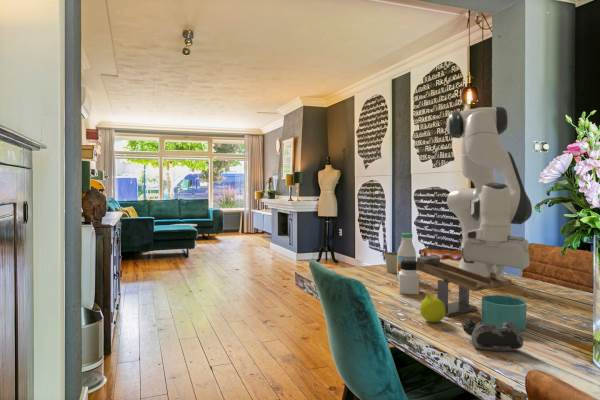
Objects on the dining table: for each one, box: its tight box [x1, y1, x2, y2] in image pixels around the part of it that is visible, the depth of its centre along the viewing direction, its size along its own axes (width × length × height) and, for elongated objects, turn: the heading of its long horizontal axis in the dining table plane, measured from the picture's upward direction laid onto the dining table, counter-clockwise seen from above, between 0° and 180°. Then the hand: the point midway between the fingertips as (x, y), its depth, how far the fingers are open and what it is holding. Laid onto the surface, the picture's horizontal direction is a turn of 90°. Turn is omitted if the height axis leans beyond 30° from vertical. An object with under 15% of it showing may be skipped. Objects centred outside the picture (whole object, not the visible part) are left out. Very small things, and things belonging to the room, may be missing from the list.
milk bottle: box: [396, 232, 417, 282], centre depth 172 cm, size 8×8×20 cm
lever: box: [416, 255, 512, 292], centre depth 133 cm, size 19×22×5 cm
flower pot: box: [383, 251, 398, 274], centre depth 190 cm, size 9×9×9 cm
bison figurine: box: [461, 318, 524, 352], centre depth 100 cm, size 12×7×10 cm
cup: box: [480, 294, 527, 332], centre depth 116 cm, size 11×11×7 cm
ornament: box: [419, 290, 446, 323], centre depth 118 cm, size 7×7×10 cm
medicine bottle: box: [398, 260, 421, 295], centre depth 153 cm, size 7×7×12 cm
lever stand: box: [436, 279, 478, 318], centre depth 129 cm, size 14×7×10 cm, turn 123°
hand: (494, 278), depth 128 cm, fingers closed
